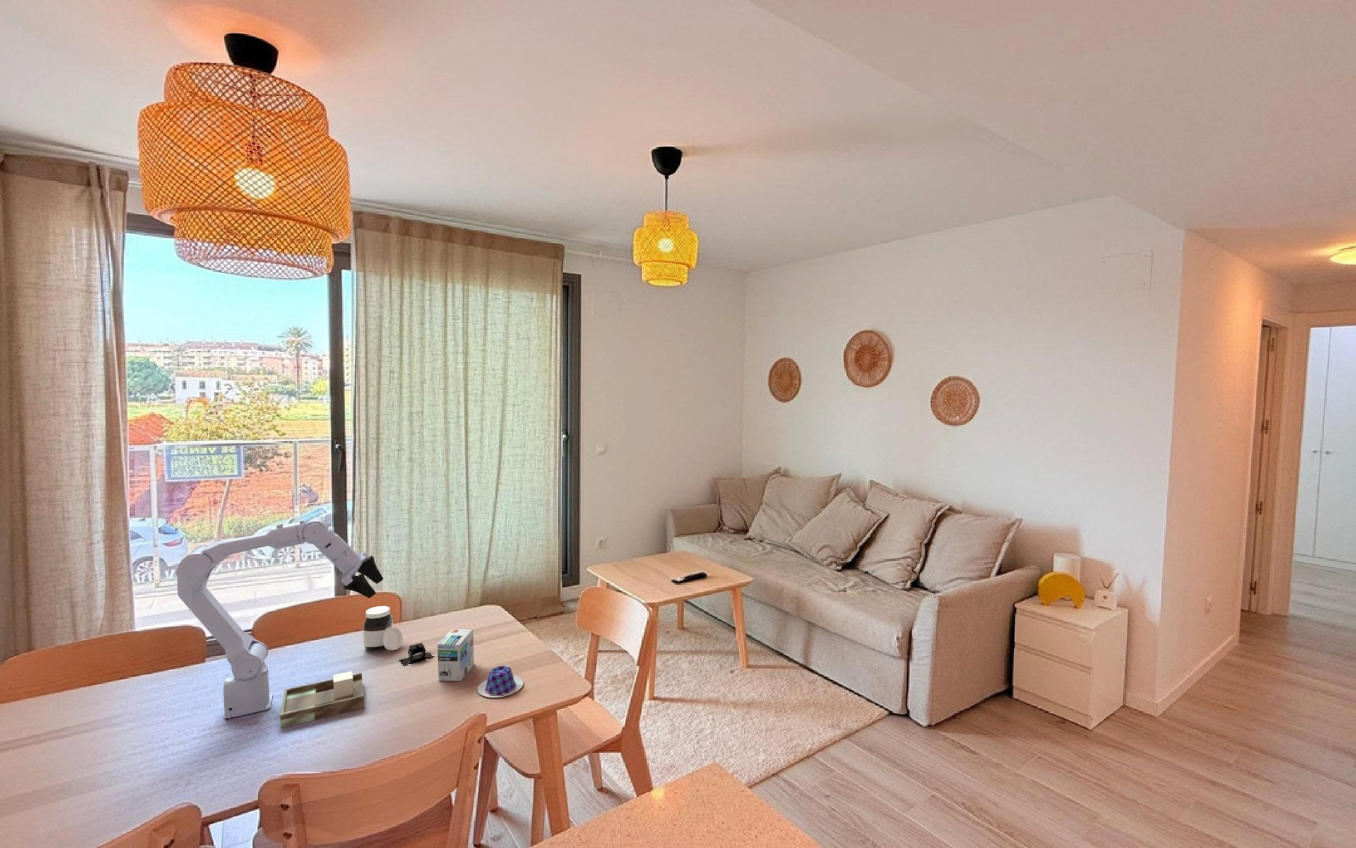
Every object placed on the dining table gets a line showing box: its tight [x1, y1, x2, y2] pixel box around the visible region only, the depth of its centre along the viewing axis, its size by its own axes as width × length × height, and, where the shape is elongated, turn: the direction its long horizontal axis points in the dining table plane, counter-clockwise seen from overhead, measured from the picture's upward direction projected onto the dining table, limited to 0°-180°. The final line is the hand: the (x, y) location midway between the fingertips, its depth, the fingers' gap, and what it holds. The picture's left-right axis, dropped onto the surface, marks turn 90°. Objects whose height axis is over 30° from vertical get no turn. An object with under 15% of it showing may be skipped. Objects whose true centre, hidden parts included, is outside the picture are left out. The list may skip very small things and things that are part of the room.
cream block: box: [332, 670, 354, 699], centre depth 157 cm, size 4×4×4 cm
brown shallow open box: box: [279, 672, 365, 729], centre depth 155 cm, size 18×14×3 cm
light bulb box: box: [436, 628, 475, 682], centre depth 172 cm, size 11×7×11 cm, turn 179°
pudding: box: [477, 665, 524, 698], centre depth 164 cm, size 12×12×5 cm
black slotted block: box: [398, 642, 436, 667], centre depth 181 cm, size 12×7×5 cm, turn 129°
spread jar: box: [362, 605, 404, 652], centre depth 189 cm, size 12×11×12 cm
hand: (376, 588), depth 165 cm, fingers open, 7 cm apart
